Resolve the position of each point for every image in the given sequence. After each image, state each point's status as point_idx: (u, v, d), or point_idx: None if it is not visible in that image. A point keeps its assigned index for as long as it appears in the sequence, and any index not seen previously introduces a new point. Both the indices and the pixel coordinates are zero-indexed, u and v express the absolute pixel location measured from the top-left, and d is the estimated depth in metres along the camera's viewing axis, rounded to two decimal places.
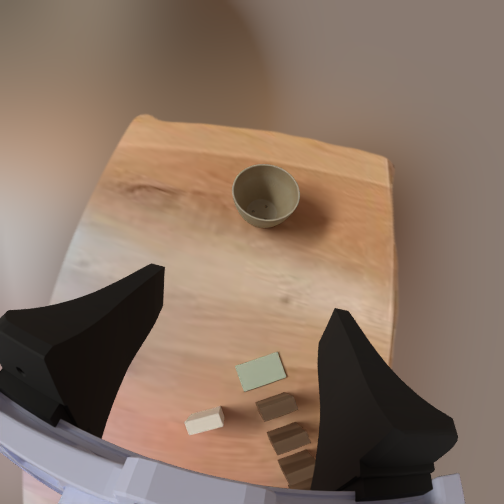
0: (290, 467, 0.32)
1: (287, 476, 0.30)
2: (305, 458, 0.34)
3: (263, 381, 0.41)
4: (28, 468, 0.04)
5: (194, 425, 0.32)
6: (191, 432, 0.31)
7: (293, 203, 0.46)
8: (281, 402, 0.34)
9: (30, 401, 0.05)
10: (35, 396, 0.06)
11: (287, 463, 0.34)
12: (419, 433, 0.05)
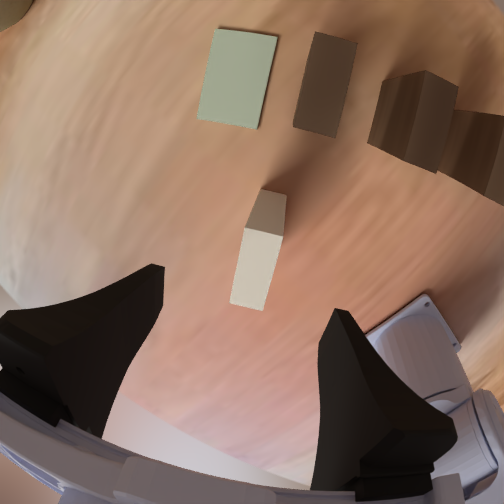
0: (470, 167, 0.13)
1: (488, 194, 0.11)
2: (470, 125, 0.13)
3: (258, 82, 0.17)
4: (28, 468, 0.04)
5: (246, 289, 0.15)
6: (258, 304, 0.16)
7: None
8: (310, 66, 0.10)
9: (30, 401, 0.05)
10: (35, 396, 0.06)
11: (454, 161, 0.14)
12: (419, 433, 0.05)
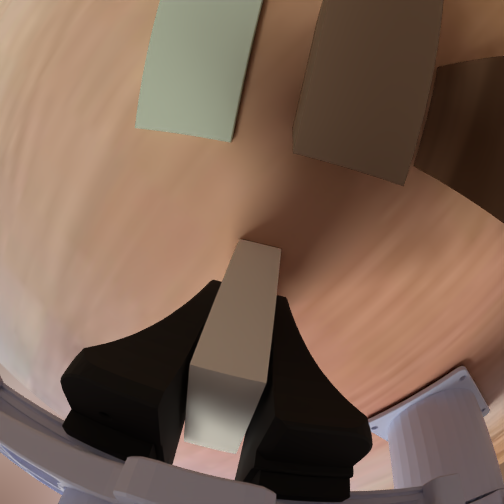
0: None
1: None
2: None
3: (232, 61, 0.09)
4: (28, 468, 0.04)
5: (207, 434, 0.08)
6: (229, 448, 0.08)
7: None
8: None
9: (117, 446, 0.05)
10: (121, 439, 0.05)
11: None
12: (306, 427, 0.05)
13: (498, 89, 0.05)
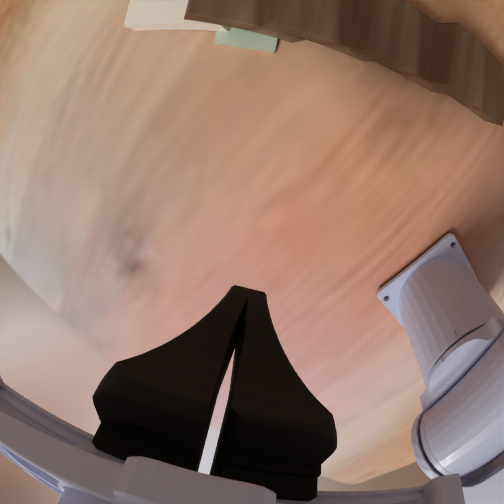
0: None
1: (353, 48, 0.13)
2: None
3: None
4: (28, 468, 0.04)
5: None
6: None
7: None
8: None
9: None
10: (156, 452, 0.05)
11: None
12: (262, 420, 0.05)
13: None
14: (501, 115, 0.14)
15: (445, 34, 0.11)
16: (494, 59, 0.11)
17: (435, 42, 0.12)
